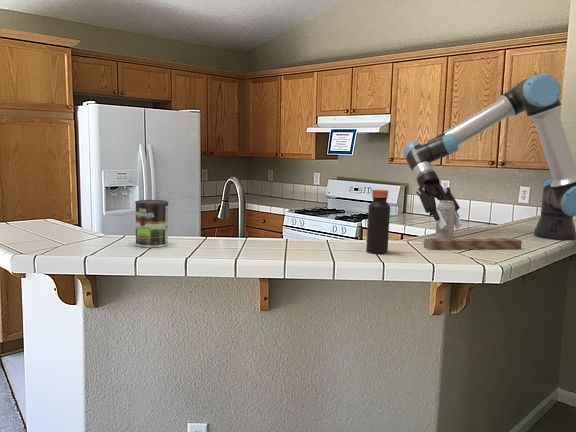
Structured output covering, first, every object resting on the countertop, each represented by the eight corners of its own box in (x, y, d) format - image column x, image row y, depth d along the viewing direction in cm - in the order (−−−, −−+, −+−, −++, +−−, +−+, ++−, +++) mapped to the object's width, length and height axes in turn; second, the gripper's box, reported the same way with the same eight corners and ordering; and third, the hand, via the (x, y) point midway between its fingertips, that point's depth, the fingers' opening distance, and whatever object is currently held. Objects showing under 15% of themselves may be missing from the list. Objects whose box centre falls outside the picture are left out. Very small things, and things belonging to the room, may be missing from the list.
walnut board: (512, 246, 184) (512, 237, 183) (521, 249, 179) (521, 240, 178) (423, 247, 177) (424, 238, 176) (430, 250, 172) (431, 240, 171)
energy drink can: (456, 243, 183) (459, 201, 181) (445, 245, 179) (448, 202, 177) (442, 240, 188) (445, 200, 186) (431, 242, 184) (434, 200, 182)
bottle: (365, 249, 169) (368, 189, 166) (385, 250, 169) (389, 189, 166) (367, 253, 162) (370, 190, 160) (389, 254, 162) (392, 191, 159)
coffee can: (156, 249, 159) (156, 204, 158) (128, 245, 163) (128, 201, 161) (174, 243, 169) (174, 201, 167) (148, 240, 173) (147, 198, 171)
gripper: (442, 183, 198) (467, 232, 186) (400, 183, 192) (423, 234, 179) (452, 170, 193) (479, 219, 180) (409, 169, 186) (434, 221, 173)
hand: (451, 226), depth 179 cm, fingers closed on energy drink can, 6 cm apart
